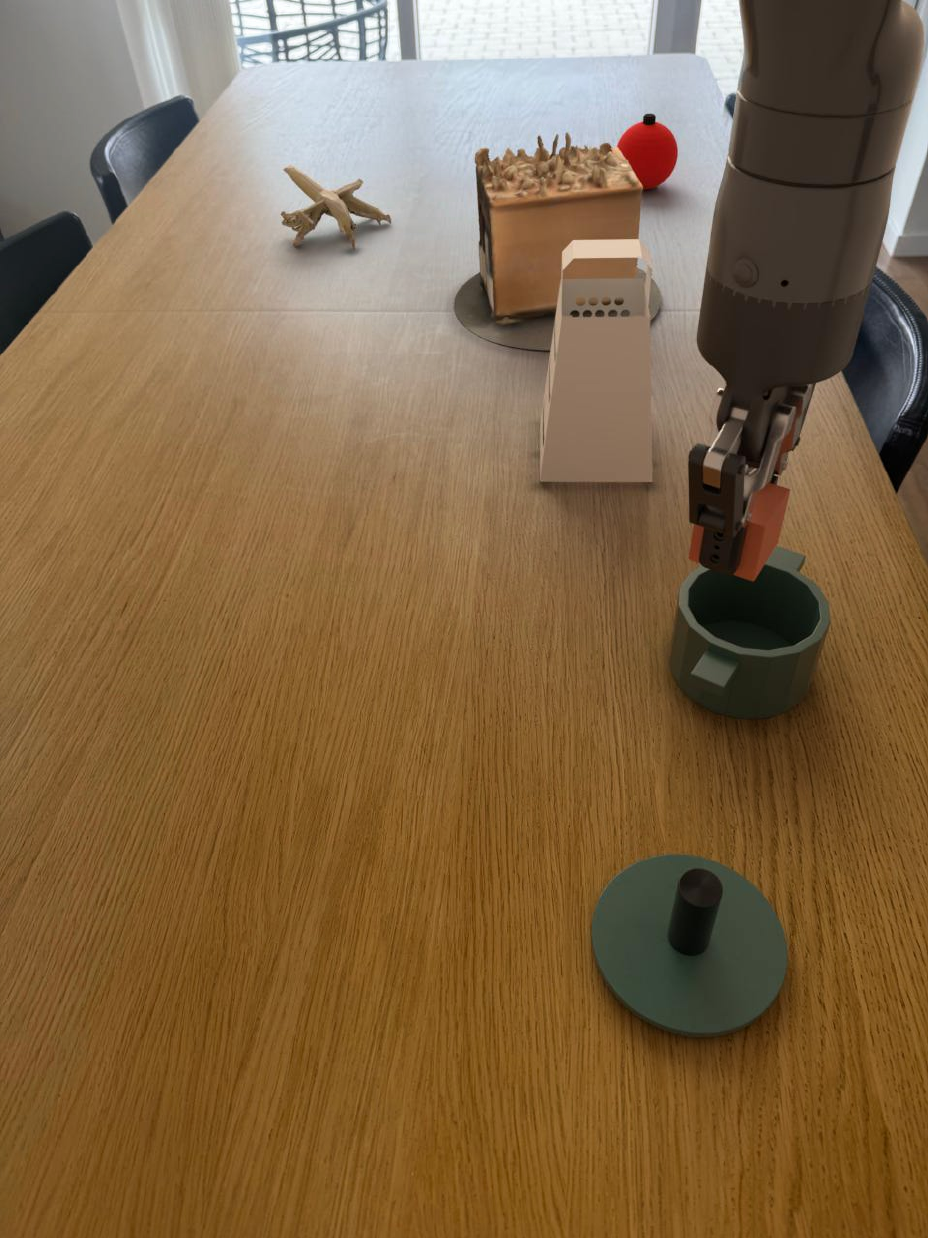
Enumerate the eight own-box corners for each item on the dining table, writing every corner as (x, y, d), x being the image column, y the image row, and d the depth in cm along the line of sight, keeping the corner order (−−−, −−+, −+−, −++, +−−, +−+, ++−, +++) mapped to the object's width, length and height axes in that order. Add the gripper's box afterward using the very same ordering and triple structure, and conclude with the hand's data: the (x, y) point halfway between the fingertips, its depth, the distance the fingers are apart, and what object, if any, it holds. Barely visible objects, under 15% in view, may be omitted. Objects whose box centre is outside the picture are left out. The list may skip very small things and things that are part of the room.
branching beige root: (312, 282, 130) (240, 208, 132) (386, 263, 141) (319, 195, 143) (335, 228, 124) (259, 152, 126) (411, 213, 135) (340, 143, 137)
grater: (540, 421, 99) (543, 224, 85) (644, 421, 98) (664, 222, 84) (539, 481, 91) (543, 276, 77) (652, 482, 90) (676, 275, 77)
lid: (811, 920, 58) (836, 858, 53) (739, 1083, 51) (761, 1029, 47) (641, 835, 63) (651, 772, 58) (556, 975, 56) (559, 916, 52)
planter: (556, 375, 105) (561, 199, 92) (412, 302, 119) (399, 140, 106) (703, 300, 116) (726, 133, 103) (556, 241, 130) (560, 88, 117)
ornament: (679, 196, 140) (688, 122, 133) (618, 200, 140) (623, 126, 133) (667, 174, 147) (675, 102, 140) (608, 177, 147) (613, 106, 140)
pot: (841, 629, 76) (861, 566, 71) (766, 766, 66) (784, 704, 62) (716, 583, 80) (727, 521, 75) (629, 706, 71) (637, 644, 66)
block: (778, 543, 57) (790, 488, 55) (753, 582, 55) (766, 527, 52) (714, 522, 59) (723, 468, 56) (687, 559, 57) (696, 504, 54)
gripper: (821, 344, 39) (750, 642, 51) (913, 220, 48) (834, 501, 59) (650, 304, 42) (621, 594, 54) (765, 194, 51) (718, 466, 63)
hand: (733, 544), depth 57 cm, fingers closed on block, 4 cm apart
